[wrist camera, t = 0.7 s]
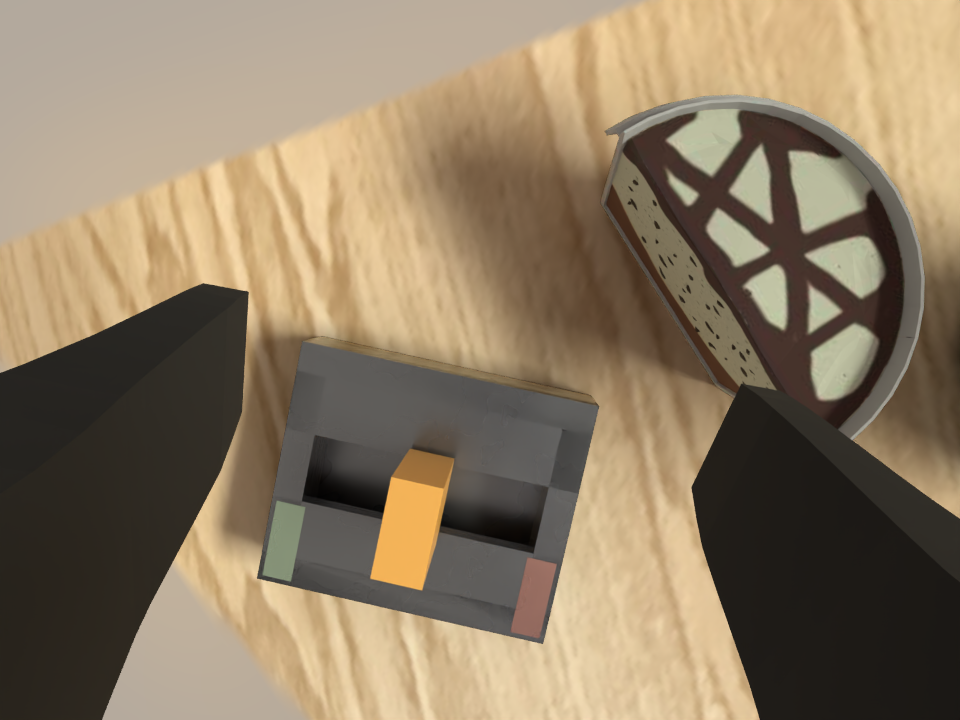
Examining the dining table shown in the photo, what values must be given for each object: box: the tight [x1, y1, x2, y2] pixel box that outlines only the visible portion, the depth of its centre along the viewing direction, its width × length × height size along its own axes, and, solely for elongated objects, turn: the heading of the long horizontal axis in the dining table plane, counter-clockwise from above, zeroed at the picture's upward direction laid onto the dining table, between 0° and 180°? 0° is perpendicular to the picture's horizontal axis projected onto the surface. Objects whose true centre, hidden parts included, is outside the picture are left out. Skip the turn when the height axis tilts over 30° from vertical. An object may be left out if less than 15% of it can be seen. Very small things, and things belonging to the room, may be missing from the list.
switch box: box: [257, 336, 599, 644], centre depth 31 cm, size 10×12×3 cm
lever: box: [370, 449, 454, 590], centre depth 28 cm, size 4×2×7 cm, turn 168°
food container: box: [600, 95, 925, 440], centre depth 26 cm, size 12×6×10 cm, turn 33°
